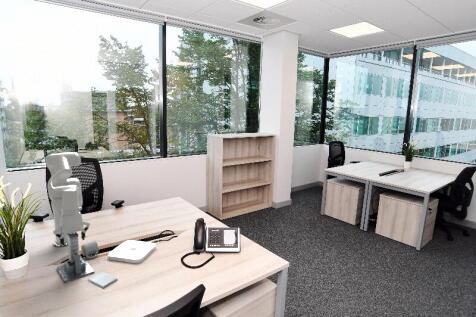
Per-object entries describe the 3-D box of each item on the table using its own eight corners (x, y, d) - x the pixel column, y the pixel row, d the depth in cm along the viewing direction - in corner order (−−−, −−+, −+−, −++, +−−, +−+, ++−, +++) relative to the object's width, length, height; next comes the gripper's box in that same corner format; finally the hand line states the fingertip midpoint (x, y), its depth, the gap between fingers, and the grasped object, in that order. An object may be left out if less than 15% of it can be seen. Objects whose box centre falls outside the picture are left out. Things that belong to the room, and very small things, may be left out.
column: (68, 259, 151) (66, 233, 149) (77, 256, 154) (75, 231, 152) (71, 263, 147) (69, 236, 145) (80, 260, 150) (78, 234, 148)
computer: (139, 264, 160) (139, 260, 160) (105, 259, 165) (105, 255, 164) (157, 247, 182) (157, 243, 181) (127, 243, 186) (127, 239, 185)
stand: (56, 268, 153) (54, 248, 151) (84, 260, 163) (83, 240, 161) (64, 283, 140) (62, 261, 139) (94, 272, 150) (93, 252, 148)
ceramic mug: (81, 254, 169) (80, 242, 168) (95, 249, 175) (94, 238, 174) (86, 261, 162) (85, 249, 161) (100, 256, 168) (100, 244, 166)
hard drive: (117, 278, 144) (102, 271, 150) (103, 286, 137) (87, 278, 143) (117, 281, 144) (102, 273, 150) (103, 289, 137) (88, 281, 143)
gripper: (86, 206, 155) (88, 235, 158) (50, 213, 143) (52, 244, 146) (90, 209, 150) (92, 239, 152) (53, 217, 138) (56, 249, 140)
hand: (73, 241), depth 149 cm, fingers open, 9 cm apart
